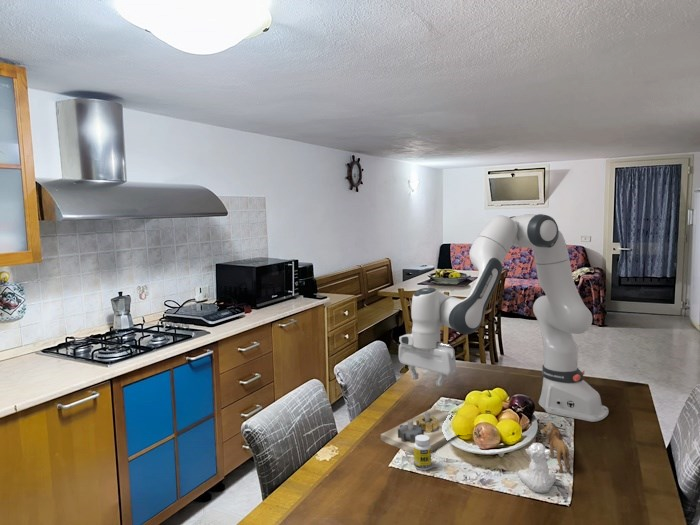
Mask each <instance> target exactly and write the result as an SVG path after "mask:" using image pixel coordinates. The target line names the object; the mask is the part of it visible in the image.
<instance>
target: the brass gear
mask: <svg viewBox="0 0 700 525" xmlns="http://www.w3.org/2000/svg"><path fill="white" fill-rule="evenodd" d="M417 424H418V425H420V427H421V428H423V429H424V431H426V432H431V431H434V430H436V429H437V428H439V420H438V419H436V418H435V416H430V422H425V415H424V416H421V417H419V418H418V420H416V425H417Z"/></svg>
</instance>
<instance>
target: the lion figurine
mask: <svg viewBox="0 0 700 525" xmlns="http://www.w3.org/2000/svg"><path fill="white" fill-rule="evenodd" d="M539 432H540V433H541V435H542V437H546V439H547V442H548V445H549V450H550V454H549V455H548V457H549V458H550V459H554V458H555V452H556V461H557V463H558V467H559V469H558V471H557V472H558V473H561V474H562V473H563V472H564V468H563V464H564V467H565V470H566V471H567V473H568V475H570V476H572V475H573V473H572V471H571V470H570V468H571V465H570V450H569V448H568V445H567V444H566V442H564V437H563V434H562V432H561V431H560V429H559V428H558V426H556V425H555V424H554V423H552V422H547V423H546V426H544V427H543V428H541V429H540V431H539ZM562 458H563V462H562ZM562 463H563V464H562Z"/></svg>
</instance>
